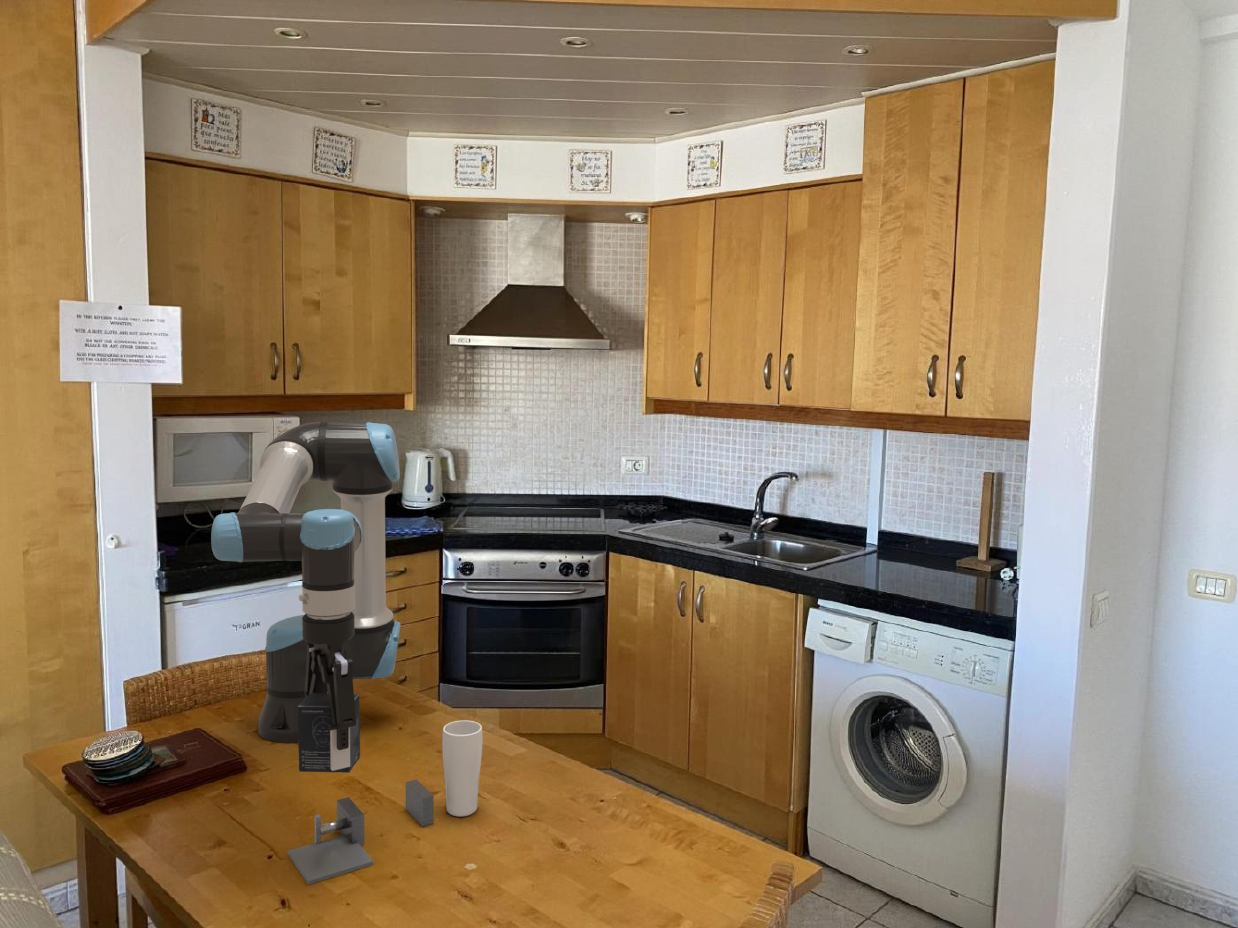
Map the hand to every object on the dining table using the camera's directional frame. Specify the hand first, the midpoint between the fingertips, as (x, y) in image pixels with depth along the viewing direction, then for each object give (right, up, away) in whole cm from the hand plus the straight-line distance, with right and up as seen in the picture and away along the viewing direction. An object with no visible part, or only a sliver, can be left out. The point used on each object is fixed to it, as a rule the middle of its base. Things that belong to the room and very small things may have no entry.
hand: (329, 755), depth 141 cm
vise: (+4, -16, +11) cm, 20 cm away
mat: (0, -17, +2) cm, 17 cm away
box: (0, -2, 0) cm, 2 cm away
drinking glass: (+17, -16, +18) cm, 30 cm away
